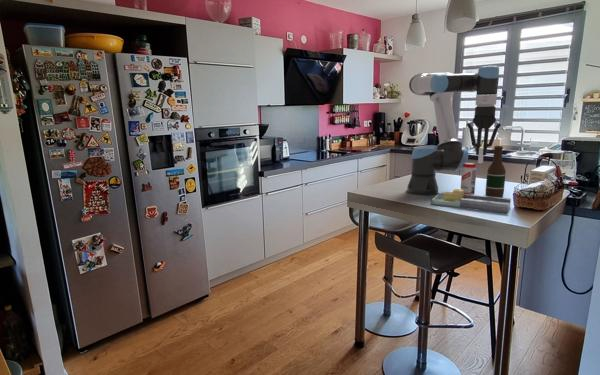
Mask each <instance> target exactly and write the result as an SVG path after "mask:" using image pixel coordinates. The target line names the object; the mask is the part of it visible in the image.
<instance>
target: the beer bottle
mask: <svg viewBox="0 0 600 375" xmlns="http://www.w3.org/2000/svg"><path fill="white" fill-rule="evenodd" d="M493 149H494V151H493V156H492V157H493V158H492V160H491V161H492V162H491V163H490V165H488V167H487V168H488V169H487V172H486V181H485V182H486V183H485V194H484V196H491V197H501V198H504V194H505V193H504V192H505V182H506V167H505V166H504V164H503V149H504V147H503V146H502V145H494V147H493Z"/></svg>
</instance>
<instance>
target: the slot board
mask: <svg viewBox="0 0 600 375" xmlns="http://www.w3.org/2000/svg"><path fill="white" fill-rule="evenodd" d="M511 199H512V198H509V197H502V198H501V197H491V196H486V195H481V194H474V195H472V194H465V195H464V198H461V199H460V209H468V208H469V209H470V210H476V209H477V210H478V211H484V212H492V213H500V214H501V213H502V214H509V210H510V209H511V201H512V200H511ZM469 209H468V210H469ZM477 210H476V211H477Z"/></svg>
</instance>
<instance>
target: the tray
mask: <svg viewBox="0 0 600 375" xmlns="http://www.w3.org/2000/svg"><path fill="white" fill-rule="evenodd" d="M430 204H431V205H437V206H443V207H449V208H450V207H452V208H457V209H458V208H460V200H455V201H454V202H449V201H444V194H438V193H437V194H435V196H434V197H433V198H432V199H430ZM460 209H461V208H460Z"/></svg>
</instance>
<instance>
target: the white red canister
mask: <svg viewBox="0 0 600 375" xmlns="http://www.w3.org/2000/svg"><path fill="white" fill-rule="evenodd" d="M476 164H477V163H476V162H471V161H470V162H468V161H467V162H466V163H464V165H463V166H462V170H461V179H460V189H464V195H465V194H472V195H476V194H475V192H476V191H475V190H476V182H477V181H476V180H477V165H476Z"/></svg>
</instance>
